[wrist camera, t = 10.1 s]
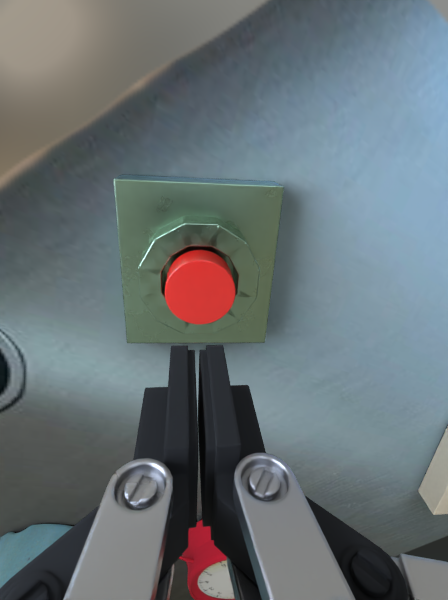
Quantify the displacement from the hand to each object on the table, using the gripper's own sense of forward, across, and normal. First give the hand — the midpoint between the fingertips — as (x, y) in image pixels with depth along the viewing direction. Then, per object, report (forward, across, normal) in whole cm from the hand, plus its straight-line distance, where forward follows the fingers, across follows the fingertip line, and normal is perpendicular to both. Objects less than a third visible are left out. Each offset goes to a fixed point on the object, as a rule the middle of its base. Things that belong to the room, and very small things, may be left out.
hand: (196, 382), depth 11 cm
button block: (+12, 0, 0) cm, 12 cm away
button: (+9, 0, 0) cm, 9 cm away
